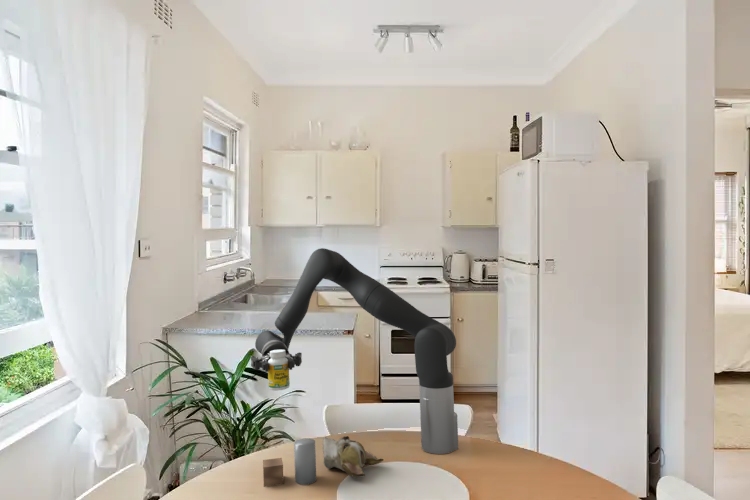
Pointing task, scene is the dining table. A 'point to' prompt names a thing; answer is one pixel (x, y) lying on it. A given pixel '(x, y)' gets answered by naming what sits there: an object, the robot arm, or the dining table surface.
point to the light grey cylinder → (305, 461)
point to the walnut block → (273, 472)
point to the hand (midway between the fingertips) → (278, 366)
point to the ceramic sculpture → (347, 456)
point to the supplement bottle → (278, 370)
